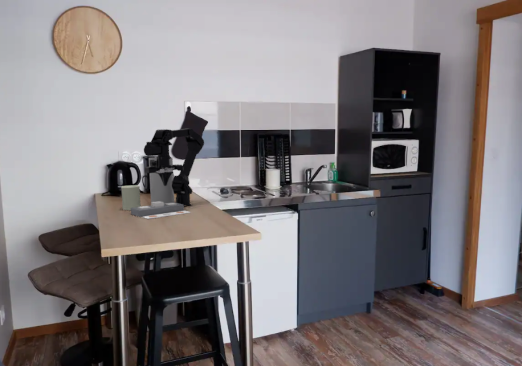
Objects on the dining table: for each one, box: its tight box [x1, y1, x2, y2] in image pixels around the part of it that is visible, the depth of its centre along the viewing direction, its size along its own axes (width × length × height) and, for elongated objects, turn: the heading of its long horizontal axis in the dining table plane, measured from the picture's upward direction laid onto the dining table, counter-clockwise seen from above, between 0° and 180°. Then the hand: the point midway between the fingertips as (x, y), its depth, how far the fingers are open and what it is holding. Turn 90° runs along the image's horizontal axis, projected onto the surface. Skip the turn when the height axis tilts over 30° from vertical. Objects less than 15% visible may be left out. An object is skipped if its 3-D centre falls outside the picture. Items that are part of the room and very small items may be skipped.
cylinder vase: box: [148, 156, 175, 204], centre depth 240 cm, size 12×12×25 cm
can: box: [121, 184, 142, 211], centre depth 227 cm, size 9×9×12 cm
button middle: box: [150, 201, 164, 208], centre depth 214 cm, size 4×4×2 cm
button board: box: [130, 201, 185, 218], centre depth 215 cm, size 23×10×3 cm, turn 129°
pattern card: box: [142, 210, 191, 220], centre depth 207 cm, size 22×6×1 cm, turn 129°
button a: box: [138, 205, 150, 209], centre depth 210 cm, size 4×4×2 cm
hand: (165, 185), depth 222 cm, fingers closed
